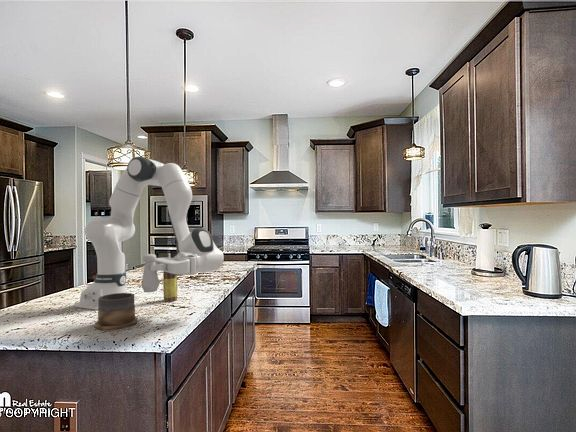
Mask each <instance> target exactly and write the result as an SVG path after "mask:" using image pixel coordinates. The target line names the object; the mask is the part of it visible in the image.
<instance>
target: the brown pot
mask: <svg viewBox="0 0 576 432" xmlns="http://www.w3.org/2000/svg"><path fill="white" fill-rule="evenodd" d="M138 322H139V319H138V317H137V316H136V305H135V294H134V293H131V292H127V293H115V294H109V295H105V296H101V297H100V298H99V299H98V310H97V321H96V322H95V323H94V329H96V330H99V331H113V330H114V331H115V330H122V329H124V328H125V329H127V328H130V327H132V326H135V325H136V324H137V323H138Z"/></svg>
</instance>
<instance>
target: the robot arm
mask: <svg viewBox="0 0 576 432" xmlns="http://www.w3.org/2000/svg"><path fill="white" fill-rule="evenodd" d="M147 186H152V187H154V188H155V187H156V188H161V189H162V191H163V194H164V196H165V202H166V204H167V205H166V206H167V208H168V214H169V219H170V220H169V221H170V223H171V227H172V230H173V233H174V237H175V241H176V255H175V256H173V257H156V260H155V265H150V266H149V269H150V270H152V271H153V270H157V271H161V272H164V271H165V272H168V273H172V274H177V275H179V276H193V275H196V274H198V273H201V274H204V273H211V272H214V271H219V269H221V267H222V266H223V264H224V259H225V258H224V257H225V256H224V253H223V251H222V250H221V249H219V248H218V247H217V245H216V244H215V242H214V240H213V236H212V234H211V233H210V231H208V229H205V228H202V227H195V228H194V229H193V230H191V231H190V229H189V225H188V222H187V221H188V220H187V214H188V212H189V211H188V210H189V208H190V206H191V203H192V200H193V191H192V187H191V185H190V183H189V180H188V178H187V177H186V174H185V173H184V171H183V169H182V168H181V167H180V166H179V165H178V164H176V163H175V162H169V163H168V162H167V163H162V162H160V161H158V160H157V159H156V160H154V159H150V158H147V157H144V156H134V157H132V158H131V159H130V160H129V162H128V164H127V168H125V169H124V171H123V172H122V174H121V175H120V177H119V179H118V180H117V182H116V184H115V186H114V188H113V191H112V194H111V196H110V198H109V200H108V205H109V207H110V209H111V210H110V212H111V213H110V216H109V217H100V218H96V219H92V220H90V221H88V222H87V224H86V226H84V234H85V237H86V239H87V240H88V241H89V242H91V244H92V247H94V250H95V253H96V262H97V266H96V267H97V273H96V274H95V275H92V276H91V277H92V279H94V280H93V283H91V284H90V285H88V286H87V288H85V289H83V290H82V292H80V297H79V301H77V302H75V303H73V307H74V308H79V309H80V308H82V309H87V310H96V311H98V299H99V298H100V297H101V296H105V295H109V294H115V293H128V292H127V285H126V282H127V272H126V255H125V253H124V252H123V251H122V250H121V248H120V243H121V242H124V241H127V240H130V239H131V238H132V237H134V235H135V232H136V226H135V224H134V216H135V211H136V208H137V205H138V204H139V202H140V199H141V196H142V193H143V191H144V189H145V188H146V187H147ZM144 267H145V264H144ZM144 267H143V268H144Z"/></svg>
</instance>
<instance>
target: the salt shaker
mask: <svg viewBox="0 0 576 432" xmlns="http://www.w3.org/2000/svg"><path fill="white" fill-rule="evenodd" d="M156 258H157V255H156V254H155V253H148V254H144V255H143V256H142V260H143V262H145V263H144V265H145V267H143V268H144V269H143V272H142V273H143V275H142V278H141V279H142V280H141V287H142V288H141V289H143V292H144V293H147V294H149V293H154V292H157V291H158V289H159V287H160V280H159V276H158V272H157V271H158V270H153V271H152V270H150V269H149V266H150V265H155V260H156Z"/></svg>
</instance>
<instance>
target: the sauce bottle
mask: <svg viewBox="0 0 576 432" xmlns="http://www.w3.org/2000/svg"><path fill="white" fill-rule="evenodd" d="M162 275H163V276H162V278H163V279H162V283H163V284H162V287H163V289H162V291H163V301H164V302H174V301H176V300H178V274H172V273H168V272H165V271H163V272H162Z"/></svg>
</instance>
